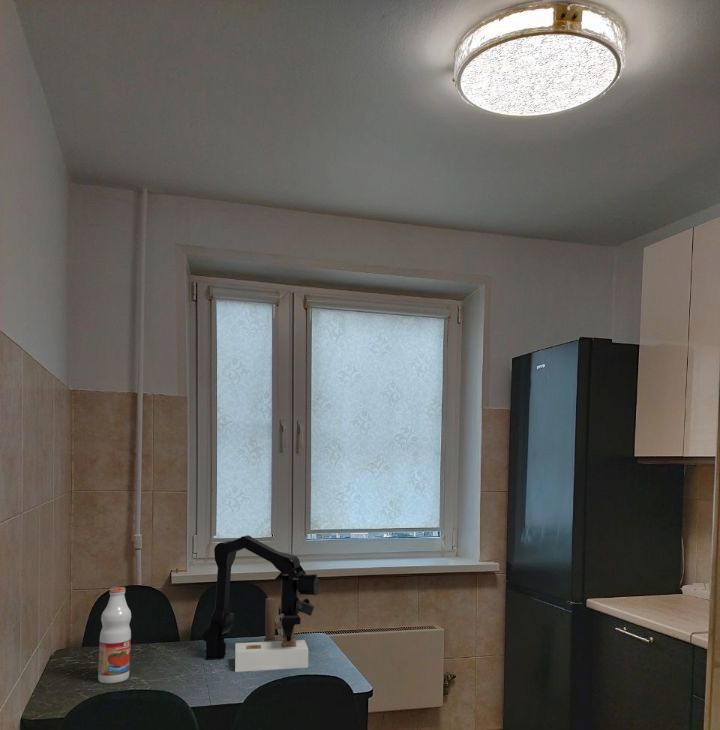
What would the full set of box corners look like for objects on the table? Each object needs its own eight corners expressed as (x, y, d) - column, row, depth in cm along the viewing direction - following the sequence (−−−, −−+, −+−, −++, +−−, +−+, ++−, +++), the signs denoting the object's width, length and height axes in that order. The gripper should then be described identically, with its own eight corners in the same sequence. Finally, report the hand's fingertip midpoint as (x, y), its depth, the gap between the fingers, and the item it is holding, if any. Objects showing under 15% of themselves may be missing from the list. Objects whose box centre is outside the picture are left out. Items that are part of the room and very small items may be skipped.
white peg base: (235, 671, 221) (235, 652, 222) (235, 661, 233) (235, 643, 234) (308, 667, 226) (308, 648, 227) (304, 657, 237) (304, 639, 238)
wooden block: (294, 648, 250) (294, 597, 252) (265, 651, 246) (266, 599, 249) (291, 645, 253) (292, 595, 256) (263, 648, 249) (264, 597, 252)
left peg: (246, 666, 226) (247, 649, 227) (246, 662, 230) (246, 645, 231) (260, 665, 227) (260, 648, 227) (259, 661, 231) (259, 645, 232)
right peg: (282, 659, 228) (283, 642, 229) (281, 655, 233) (282, 639, 233) (295, 658, 229) (295, 642, 230) (294, 655, 233) (294, 638, 234)
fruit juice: (114, 673, 221) (118, 584, 225) (135, 677, 216) (139, 586, 220) (91, 681, 213) (95, 589, 217) (112, 685, 208) (116, 591, 212)
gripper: (315, 597, 226) (315, 646, 224) (309, 587, 244) (309, 633, 242) (282, 599, 224) (281, 648, 222) (278, 589, 242) (277, 634, 240)
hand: (288, 640), depth 232 cm, fingers closed, pressing on right peg
